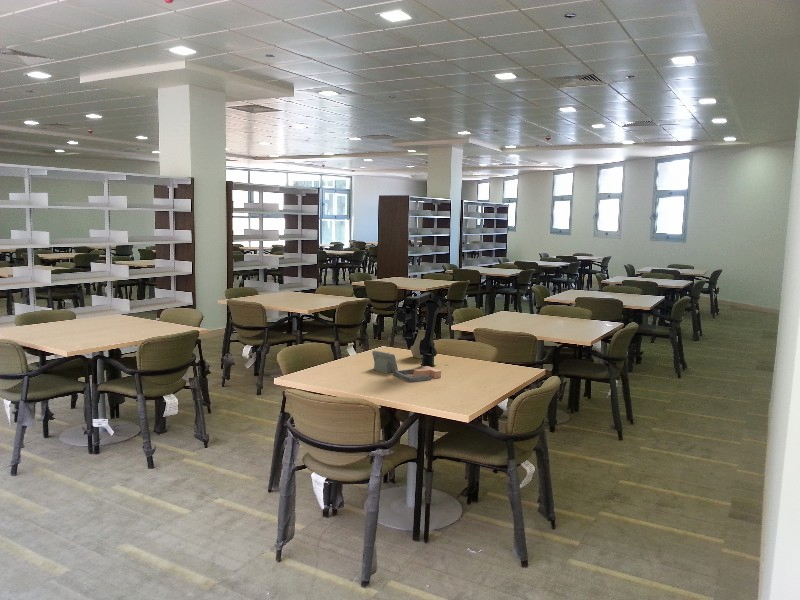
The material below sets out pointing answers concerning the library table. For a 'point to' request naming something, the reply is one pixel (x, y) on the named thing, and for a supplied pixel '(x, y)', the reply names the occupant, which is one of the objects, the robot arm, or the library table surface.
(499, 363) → the library table surface
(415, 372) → the t block
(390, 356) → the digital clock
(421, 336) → the plant pot
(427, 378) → the fence
